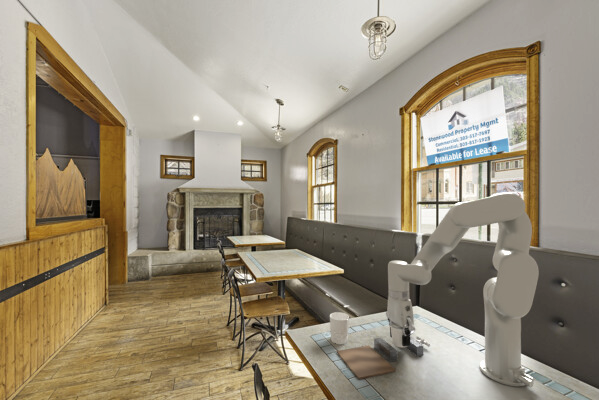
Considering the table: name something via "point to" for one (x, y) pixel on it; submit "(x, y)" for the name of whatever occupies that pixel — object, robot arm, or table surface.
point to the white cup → (339, 327)
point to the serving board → (365, 362)
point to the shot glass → (397, 334)
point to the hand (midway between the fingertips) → (400, 340)
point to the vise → (391, 352)
